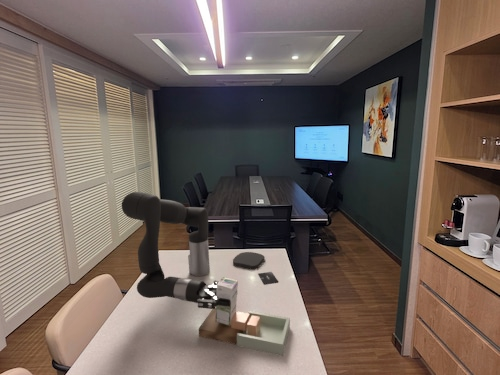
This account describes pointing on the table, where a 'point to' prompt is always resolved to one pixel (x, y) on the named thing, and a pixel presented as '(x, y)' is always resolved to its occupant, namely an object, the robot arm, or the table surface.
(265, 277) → the solid state drive
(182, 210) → the robot arm
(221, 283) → the syrup box
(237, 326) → the tile
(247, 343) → the tray
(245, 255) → the media streaming box
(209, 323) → the board
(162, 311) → the table surface
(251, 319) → the tile
